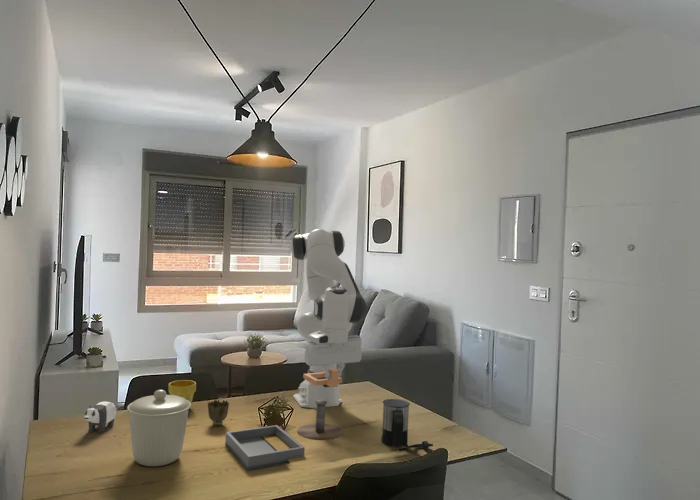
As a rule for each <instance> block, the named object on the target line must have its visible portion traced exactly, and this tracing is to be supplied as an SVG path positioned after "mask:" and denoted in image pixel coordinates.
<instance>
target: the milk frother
mask: <svg viewBox="0 0 700 500" xmlns="http://www.w3.org/2000/svg"><path fill="white" fill-rule="evenodd" d="M382 404H383V408H382V409H383V411H382V428H381V429H382V433H381V443H382V444H384V445H386V446H387V447H393V448H396V449H392V451H397V452H398V451H404V450H405V451H406V450H407V449H411V448H422V449H423V450H428V449H429V448H430V447H433V446H434V443H429V442H428V441H427V440H424V441H421V443H418V444H417V443H416V444H411V445H409V444H408V443H409V442H408V434H409V433H408V430H409V411H410V406H411V403H410V402H409V401H407V400H404V399H398V398H389V399H388V398H387V399H384V400H383V401H382Z"/></svg>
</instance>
